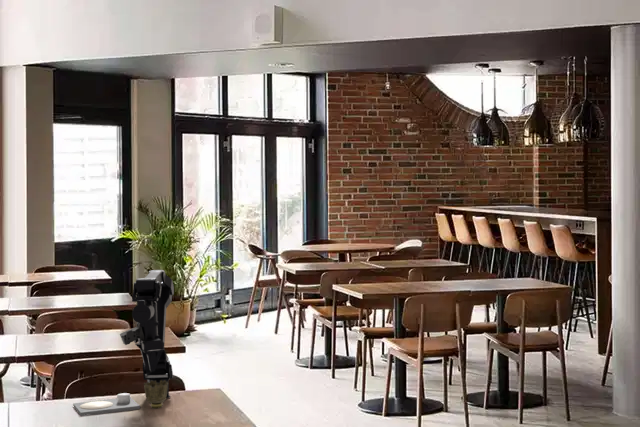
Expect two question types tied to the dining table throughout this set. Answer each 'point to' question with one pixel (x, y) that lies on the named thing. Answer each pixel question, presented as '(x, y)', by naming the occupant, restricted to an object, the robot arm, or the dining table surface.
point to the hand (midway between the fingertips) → (149, 368)
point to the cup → (156, 393)
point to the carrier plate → (107, 405)
